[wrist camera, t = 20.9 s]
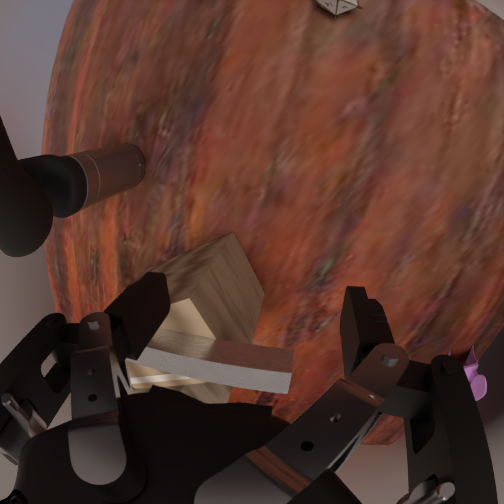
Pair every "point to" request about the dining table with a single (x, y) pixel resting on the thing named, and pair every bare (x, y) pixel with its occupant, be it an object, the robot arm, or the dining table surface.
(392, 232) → the dining table surface
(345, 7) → the game die
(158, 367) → the bar
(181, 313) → the stand
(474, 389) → the toy chair
